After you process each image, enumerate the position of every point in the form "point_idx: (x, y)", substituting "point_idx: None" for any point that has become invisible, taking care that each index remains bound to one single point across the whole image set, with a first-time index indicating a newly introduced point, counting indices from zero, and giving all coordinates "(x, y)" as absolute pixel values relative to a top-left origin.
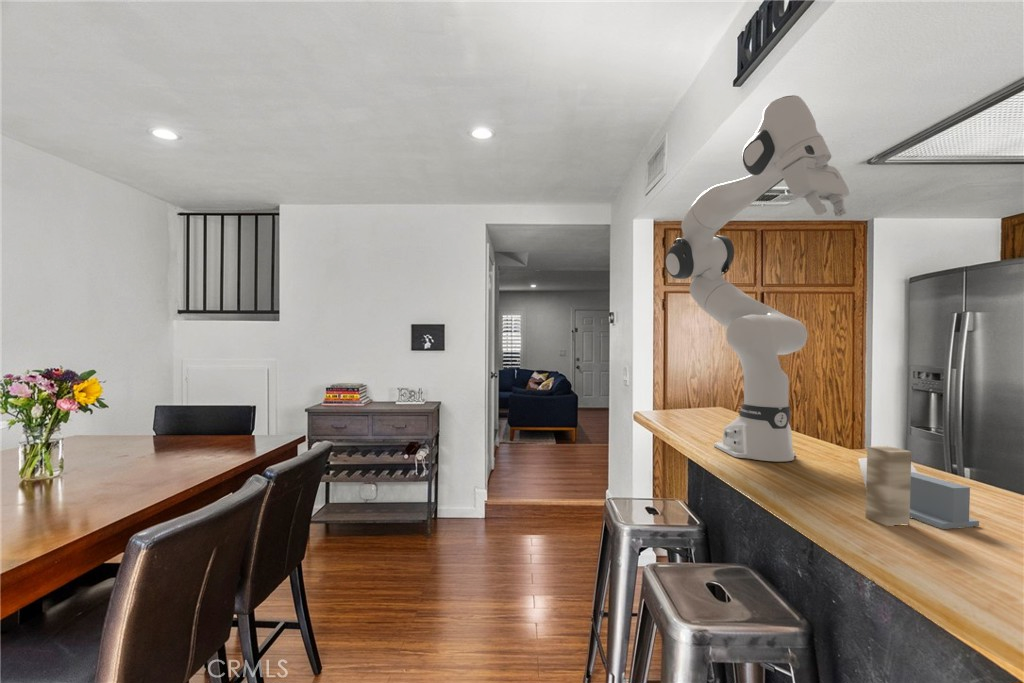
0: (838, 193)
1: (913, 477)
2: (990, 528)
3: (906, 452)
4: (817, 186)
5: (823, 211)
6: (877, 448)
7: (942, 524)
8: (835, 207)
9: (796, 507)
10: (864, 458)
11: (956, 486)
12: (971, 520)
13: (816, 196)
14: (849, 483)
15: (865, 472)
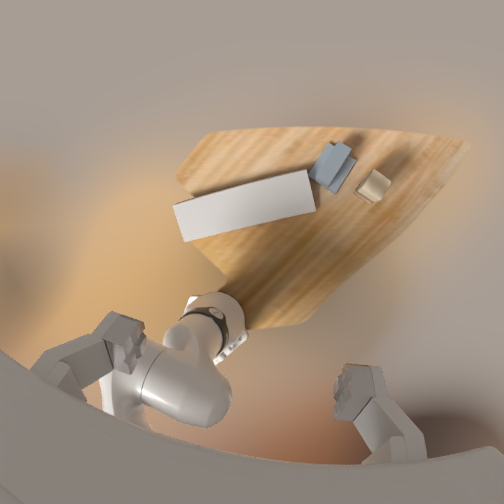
0: (74, 397)
1: (335, 174)
2: (326, 138)
3: (377, 172)
4: (431, 474)
5: (376, 366)
6: (383, 191)
7: (355, 160)
8: (97, 373)
9: (380, 247)
10: (185, 236)
11: (343, 147)
12: (332, 146)
13: (420, 431)
14: (269, 232)
15: (245, 224)
